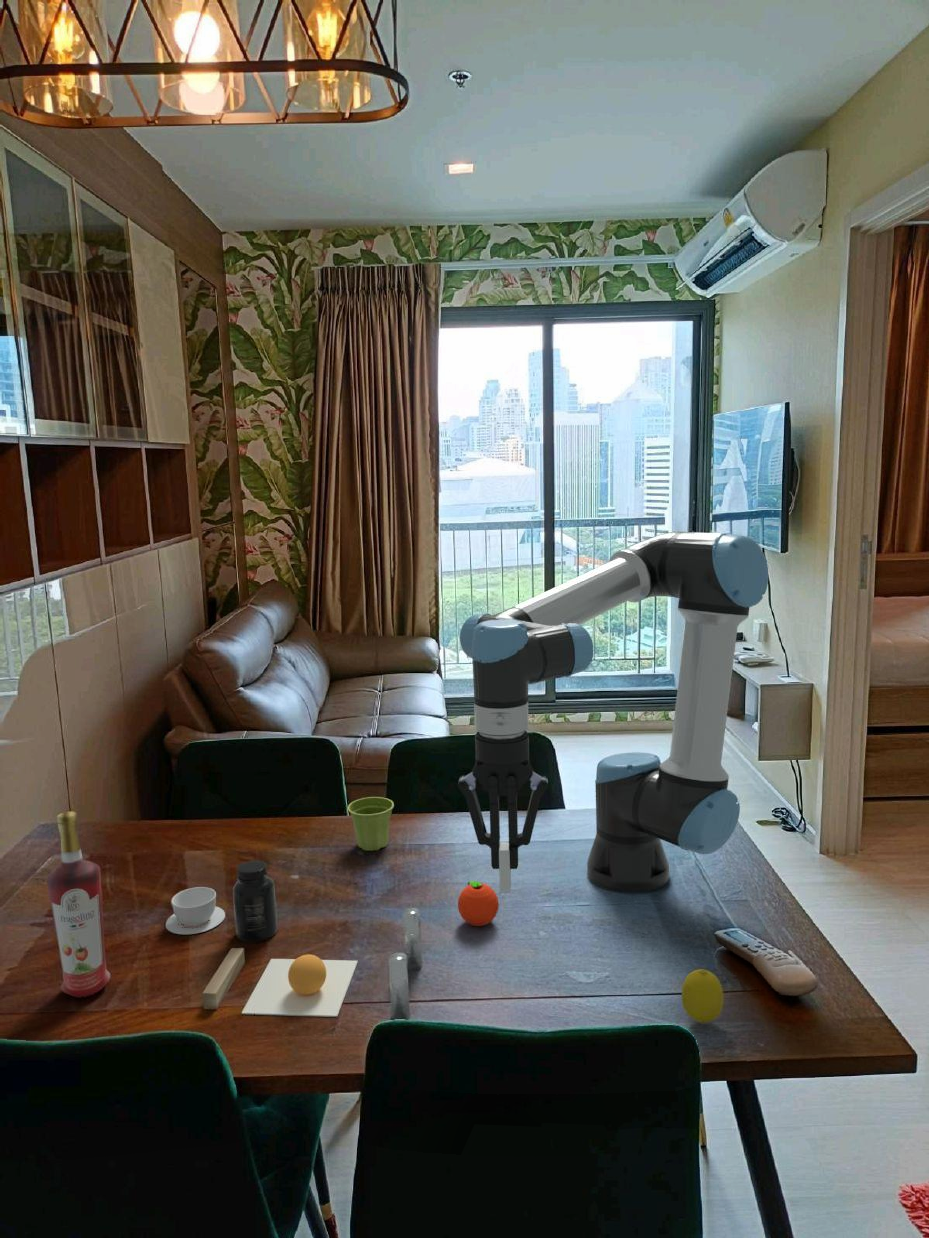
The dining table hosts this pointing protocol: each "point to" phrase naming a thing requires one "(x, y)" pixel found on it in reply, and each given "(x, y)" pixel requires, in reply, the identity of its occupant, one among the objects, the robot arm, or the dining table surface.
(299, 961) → the ball
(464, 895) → the clementine
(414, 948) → the post
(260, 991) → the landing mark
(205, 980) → the dining table surface
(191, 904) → the teacup
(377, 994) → the dining table surface
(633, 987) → the dining table surface
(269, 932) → the supplement bottle
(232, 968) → the wall
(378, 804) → the plant pot
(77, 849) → the liquor
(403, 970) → the post
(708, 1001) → the lemon
